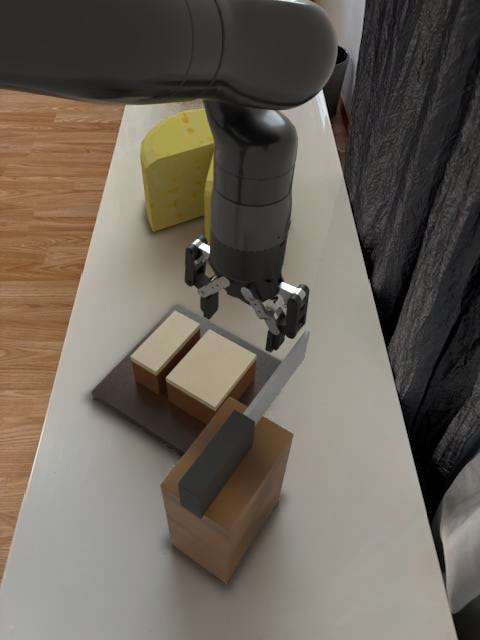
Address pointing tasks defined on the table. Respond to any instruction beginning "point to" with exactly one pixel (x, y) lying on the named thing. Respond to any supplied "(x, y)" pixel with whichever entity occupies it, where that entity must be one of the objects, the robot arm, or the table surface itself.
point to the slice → (164, 351)
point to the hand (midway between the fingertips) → (241, 330)
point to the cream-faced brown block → (210, 376)
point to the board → (156, 409)
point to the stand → (229, 497)
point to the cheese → (178, 170)
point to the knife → (234, 439)
